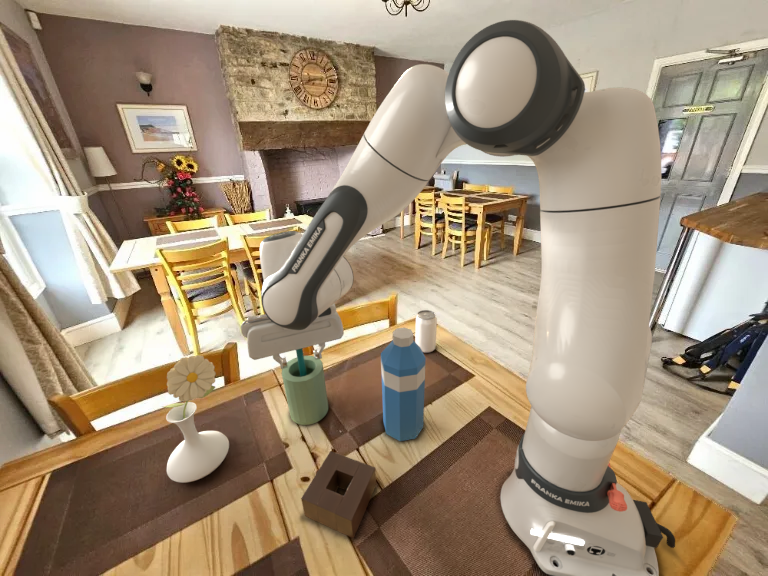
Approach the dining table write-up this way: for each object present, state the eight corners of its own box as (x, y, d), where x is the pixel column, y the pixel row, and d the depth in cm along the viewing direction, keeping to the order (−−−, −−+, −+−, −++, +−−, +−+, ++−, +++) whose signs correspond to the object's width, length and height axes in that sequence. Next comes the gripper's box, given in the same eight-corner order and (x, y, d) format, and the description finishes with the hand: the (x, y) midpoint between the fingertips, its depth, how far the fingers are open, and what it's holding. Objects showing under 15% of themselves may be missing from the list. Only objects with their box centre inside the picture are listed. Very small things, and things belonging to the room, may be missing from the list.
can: (424, 339, 103) (425, 307, 98) (439, 347, 99) (441, 314, 94) (410, 346, 99) (411, 314, 94) (425, 356, 95) (427, 322, 90)
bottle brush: (316, 404, 77) (306, 340, 69) (310, 412, 75) (299, 347, 67) (307, 401, 78) (296, 338, 70) (300, 409, 76) (288, 345, 68)
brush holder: (376, 484, 59) (375, 467, 57) (353, 538, 51) (351, 520, 49) (332, 467, 63) (330, 450, 60) (304, 516, 55) (301, 498, 52)
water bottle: (421, 444, 67) (424, 349, 56) (379, 438, 69) (374, 344, 58) (424, 411, 75) (428, 322, 65) (387, 406, 77) (384, 319, 67)
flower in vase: (169, 500, 58) (118, 398, 47) (168, 454, 66) (125, 359, 56) (243, 463, 64) (213, 366, 54) (233, 425, 73) (205, 336, 62)
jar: (335, 401, 79) (330, 360, 73) (314, 429, 71) (307, 385, 66) (304, 392, 82) (297, 352, 77) (282, 418, 74) (272, 375, 69)
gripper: (238, 327, 58) (253, 384, 64) (343, 305, 66) (347, 358, 71) (238, 312, 64) (252, 366, 70) (335, 293, 71) (340, 344, 77)
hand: (301, 362), depth 70 cm, fingers open, 6 cm apart
